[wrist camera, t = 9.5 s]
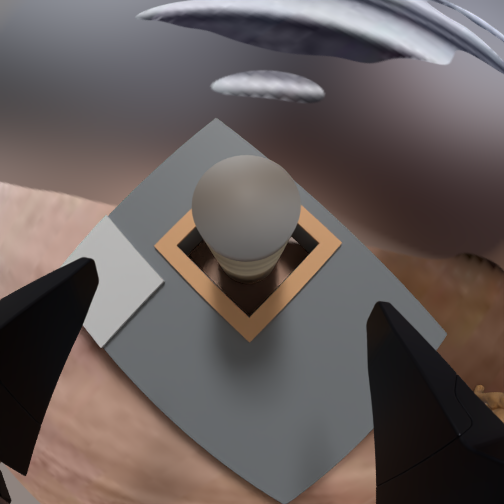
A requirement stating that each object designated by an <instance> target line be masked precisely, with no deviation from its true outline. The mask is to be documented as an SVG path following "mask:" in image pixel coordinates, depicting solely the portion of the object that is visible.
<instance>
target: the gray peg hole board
mask: <svg viewBox="0 0 504 504" xmlns="http://www.w3.org/2000/svg"><path fill="white" fill-rule="evenodd" d="M240 155H253V156H259V157H263V158H266V159H268V158H267V157H265V156H264V155H263V154H262V153H260V152H259V151H258V150H257V149H255V148H254V147H253V146H252V145H251V144H249V143H248V142H247V141H245V140H244V139H243V138H242V137H240V136H239V135H238V134H237V133H235V132H234V131H233V130H231V129H230V128H229V127H227V126H226V125H225V124H224V123H222V122H221V121H220V120H218V119H217V118H215V119H214V120H213V121H212V122H210V123H209V124H208V125H206V126H205V127H204V128H203V129H201V130H200V131H199V132H198V133H197V134H195V135H194V136H193V137H192V138H191V139H189V140H188V141H187V142H186V143H185V144H184V145H182V146H181V147H180V148H179V149H178V150H176V151H175V152H174V153H173V154H172V155H171V156H170V157H169V158H167V159H166V160H165V161H164V162H163V163H162V164H161V165H160V166H159V167H157V168H156V169H155V170H154V171H153V172H152V173H151V174H150V175H149V176H148V177H147V178H146V179H145V180H144V181H143V182H141V184H139V185H138V186H137V187H136V188H135V189H134V190H133V191H132V192H131V193H130V194H129V195H128V196H127V197H126V198H125V199H124V200H123V201H122V202H121V203H120V204H119V205H118V206H117V207H116V208H115V209H114V210H113V211H112V212H111V214H110V215H109V216H107V215H105V216H104V218H103V219H102V220H101V221H100V222H99V223H98V224H97V225H96V226H95V227H94V228H93V229H92V231H91V232H90V233H89V234H88V235H87V236H86V237H85V238H84V240H83V241H82V242H81V243H80V244H79V245H78V246H77V248H76V249H75V250H74V251H73V252H72V254H71V255H70V256H69V257H68V258H67V260H66V261H65V262H64V263H63V264H62V266H61V267H63V266H65V265H67V264H69V263H71V262H73V261H75V260H77V259H79V258H81V257H87V258H92V259H94V261H95V264H96V268H97V272H98V277H99V284H98V287H97V290H96V292H95V295H94V297H93V300H92V303H91V305H90V308H89V310H88V313H87V316H86V318H85V321H84V323H83V326H84V327H85V328H86V330H87V331H88V332H89V334H90V335H91V336H92V337H93V339H94V340H95V341H96V343H97V344H98V345H99V346H100V347H101V348H104V349H105V351H106V352H107V353H108V354H109V355H110V356H111V358H112V359H113V360H114V361H115V362H116V363H117V365H118V366H119V367H120V368H121V369H122V370H123V371H124V373H125V374H126V375H127V376H128V377H129V378H130V379H131V380H132V381H133V382H134V383H135V384H136V386H137V387H138V388H139V389H140V390H141V391H142V392H143V393H144V394H145V395H146V396H147V397H148V398H149V399H150V400H151V401H152V402H153V403H154V404H155V405H156V406H157V407H158V408H159V409H160V410H161V411H162V412H163V413H164V414H165V415H166V416H168V417H169V418H170V419H171V420H172V421H173V422H174V423H175V424H176V425H177V426H178V427H179V428H181V429H182V430H183V431H184V432H185V433H186V434H187V435H189V436H190V437H191V438H192V439H193V440H194V441H196V442H197V443H198V444H199V445H200V446H202V447H203V448H204V449H205V450H206V451H208V452H209V453H210V454H211V455H213V456H214V457H215V458H217V459H218V460H219V461H220V462H222V463H223V464H224V465H226V466H227V467H228V468H230V469H231V470H232V471H234V472H235V473H237V474H238V475H239V476H241V477H242V478H244V479H245V480H246V481H248V482H249V483H251V484H252V485H254V486H255V487H257V488H258V489H260V490H261V491H263V492H264V493H266V494H268V495H269V496H271V497H272V498H274V499H276V500H277V501H279V502H280V503H282V504H287V503H289V502H290V501H292V500H293V499H294V498H296V497H297V496H298V495H300V494H301V493H302V492H304V491H305V490H306V489H307V488H309V487H310V486H311V485H312V484H314V483H315V482H316V481H317V480H319V479H320V478H321V477H322V476H323V475H325V474H326V473H327V472H328V471H329V470H330V469H332V468H333V467H334V466H335V465H336V464H337V463H338V462H339V461H341V460H342V459H343V458H344V457H345V456H346V455H347V454H348V453H349V452H350V451H351V450H352V449H353V448H354V447H355V446H357V445H358V444H359V443H360V442H361V441H362V440H363V439H364V438H365V437H366V436H367V434H368V433H369V432H370V431H371V430H372V429H373V428H374V427H373V414H372V404H371V394H370V385H369V377H368V365H367V332H366V324H367V320H368V317H369V315H370V313H371V311H372V309H373V307H374V305H375V303H376V302H378V301H384V302H389V303H391V304H392V305H393V306H394V307H395V308H396V309H397V310H398V311H399V312H400V313H401V314H402V315H403V316H404V317H405V319H406V320H407V321H408V322H409V323H410V324H411V325H412V326H413V327H414V328H415V329H416V330H417V331H418V332H419V333H420V334H421V335H422V336H423V337H424V338H425V339H426V340H427V341H428V343H429V344H430V345H431V346H432V347H433V348H434V349H435V350H437V349H438V347H439V346H440V344H441V343H442V341H443V340H444V338H445V337H446V335H447V333H446V332H445V331H444V330H443V329H442V327H441V326H440V325H439V324H438V323H437V322H436V321H435V319H434V318H433V317H432V316H431V315H430V314H429V313H428V311H427V310H426V309H425V308H424V307H423V306H422V305H421V304H420V303H419V301H418V300H417V299H416V298H415V297H414V296H413V295H412V294H411V293H410V292H409V291H408V290H407V288H406V287H405V286H404V285H403V284H402V283H401V282H400V281H399V280H398V279H397V278H396V277H395V276H394V275H393V274H392V273H391V272H390V271H389V270H388V269H387V268H386V266H385V265H384V264H383V263H382V262H381V261H380V260H379V259H378V258H377V257H376V256H375V255H374V254H373V253H372V252H371V251H370V250H369V249H368V248H367V247H366V246H365V245H364V244H363V243H361V242H360V241H359V240H358V239H357V238H356V237H355V236H354V235H353V234H352V233H351V232H350V231H349V230H348V229H347V228H346V227H345V226H344V225H343V224H342V223H341V222H340V221H338V220H337V219H336V218H335V217H334V216H333V215H332V214H331V213H330V212H329V211H328V210H327V209H325V208H324V207H323V206H322V205H321V204H320V203H319V202H318V201H317V200H315V199H314V198H313V197H312V196H311V195H310V194H309V193H307V192H306V191H305V190H304V189H303V188H302V187H301V186H300V185H299V184H297V183H296V182H295V181H294V182H295V184H296V186H297V189H298V191H299V195H300V201H301V212H300V217H299V220H298V223H297V226H296V228H295V230H294V232H293V233H292V235H291V237H293V238H294V239H295V240H296V241H297V242H298V243H299V244H300V245H301V246H302V247H303V248H304V249H305V250H306V251H308V252H309V254H308V255H307V257H306V258H305V259H304V260H303V261H302V262H301V263H300V264H299V265H298V266H297V267H296V268H295V269H294V271H293V272H292V273H291V274H290V275H289V276H288V277H287V278H286V279H285V280H284V281H283V282H282V283H281V284H280V285H279V286H278V288H277V289H276V290H275V291H274V292H273V293H272V294H271V295H270V296H269V297H268V298H267V299H266V300H265V301H264V302H263V303H262V304H261V305H260V306H259V307H258V308H257V309H256V310H255V311H254V312H253V313H252V315H251V316H250V317H249V316H248V315H247V314H246V313H245V312H244V311H243V310H242V309H241V308H240V307H239V306H238V305H237V304H236V303H234V302H233V301H232V300H231V299H230V298H229V297H228V296H227V295H226V294H225V293H224V292H223V291H222V290H221V289H220V288H219V287H218V286H217V285H216V284H215V283H214V282H213V281H212V280H211V279H210V278H209V277H208V276H207V275H206V274H205V273H204V272H203V271H202V270H201V269H200V268H199V267H198V266H197V265H196V264H195V263H194V262H193V261H192V260H191V259H190V258H189V257H188V256H187V255H188V254H189V253H190V252H191V251H192V250H193V249H194V248H195V247H196V246H197V245H198V244H199V243H200V242H201V241H202V240H203V238H202V236H201V234H200V233H199V231H198V229H197V228H196V225H195V223H194V220H193V216H192V198H193V193H194V190H195V188H196V185H197V183H198V182H199V180H200V179H201V177H202V176H203V175H204V173H205V172H206V171H207V170H209V169H210V168H211V167H212V166H214V165H215V164H216V163H218V162H220V161H222V160H224V159H227V158H230V157H234V156H240ZM61 267H60V268H61Z"/></svg>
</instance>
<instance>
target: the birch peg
mask: <svg viewBox="0 0 504 504" xmlns="http://www.w3.org/2000/svg"><path fill="white" fill-rule="evenodd" d="M300 212H301V201H300V195H299V191H298V189H297V186H296V184H295V182H294V180H293V179H292V178H291V176H290V175H289V174H288V173H287V172H286V171H285V170H284V169H283V168H282V167H281V166H279V165H278V164H276V163H275V162H273V161H271V160H269V159H266V158H263V157H259V156H253V155H240V156H234V157H230V158H227V159H224V160H222V161H220V162H218V163H216V164H215V165H214V166H212V167H211V168H210V169H209V170H207V171H206V172H205V173H204V175H203V176H202V177H201V179H200V180H199V182H198V183H197V185H196V188H195V190H194V193H193V198H192V216H193V220H194V223H195V225H196V228H197V229H198V231H199V233H200V234H201V236H202V238H203V239H204V241H205V242H206V244H207V246H208V247H209V249H210V250H211V252H212V253H213V255H214V257H215V258H216V260H217V261H218V263H219V264H220V266H221V267H222V269H223V271H224V272H225V273H226V274H227V275H228V276H229V277H230V278H231V279H233V280H235V281H237V282H240V283H246V284H249V283H256V282H259V281H261V280H263V279H264V278H266V277H267V276H268V275H269V274H270V273H271V272H272V270H273V269H274V267H275V265H276V263H277V261H278V259H279V258H280V256H281V254H282V252H283V250H284V248H285V246H286V245H287V243H288V241H289V239H290V237H291V235H292V233H293V232H294V230H295V228H296V226H297V223H298V220H299V217H300Z"/></svg>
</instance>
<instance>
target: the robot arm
mask: <svg viewBox="0 0 504 504" xmlns="http://www.w3.org/2000/svg"><path fill="white" fill-rule="evenodd" d="M98 284H99V277H98V272H97V268H96V264H95V261H94V259H92V258H87V257H81V258H79V259H77V260H75V261H73V262H71V263H69V264H67V265H65V266H63V267H61V268H59V269H57V270H55V271H53V272H51V273H49V274H47V275H45V276H43V277H41V278H39V279H37V280H35V281H33V282H32V283H30V284H28V285H26V286H24V287H22V288H20V289H18V290H17V291H15V292H13V293H11V294H9V295H8V296H6V297H4V298H2V299H1V300H0V463H1V462H2V463H4V464H5V465H7V466H9V467H10V468H12V469H14V470H15V471H17V472H19V473H20V474H22V475H24V476H26V474H27V472H28V468H29V464H30V461H31V457H32V454H33V450H34V447H35V444H36V440H37V437H38V434H39V431H40V428H41V425H42V422H43V419H44V416H45V413H46V410H47V408H48V405H49V402H50V400H51V397H52V394H53V392H54V389H55V387H56V384H57V382H58V379H59V377H60V374H61V372H62V370H63V367H64V365H65V363H66V360H67V358H68V356H69V354H70V351H71V349H72V347H73V345H74V343H75V340H76V338H77V336H78V334H79V332H80V330H81V328H82V325H83V323H84V321H85V318H86V316H87V313H88V310H89V308H90V305H91V303H92V300H93V297H94V295H95V292H96V290H97V287H98ZM366 332H367V365H368V377H369V385H370V394H371V404H372V414H373V427H374V441H375V460H376V486H377V487H376V504H504V423H503V422H502V421H501V420H500V419H499V418H498V417H497V415H496V414H495V413H494V412H493V411H492V410H491V409H490V408H489V407H488V406H487V405H486V404H485V403H484V402H483V401H482V400H481V399H480V398H479V397H478V396H477V395H476V394H475V393H474V392H473V391H472V390H471V389H470V388H469V387H468V385H467V384H466V383H465V382H464V381H463V380H462V379H461V378H460V376H459V375H456V372H455V371H454V370H453V369H452V368H451V366H450V365H449V364H448V363H447V362H446V361H445V360H444V359H443V358H442V357H441V355H440V354H439V353H438V352H437V351H436V350H435V349H434V348H433V347H432V346H431V345H430V344H429V343H428V341H427V340H426V339H425V338H424V337H423V336H422V335H421V334H420V333H419V332H418V331H417V330H416V329H415V328H414V327H413V326H412V325H411V324H410V323H409V322H408V321H407V320H406V319H405V317H404V316H403V315H402V314H401V313H400V312H399V311H398V310H397V309H396V308H395V307H394V306H393V305H392V304H391V303H389V302H384V301H378V302H376V303H375V305H374V307H373V309H372V311H371V313H370V315H369V317H368V320H367V324H366ZM10 503H11V498H10V495H9V493H8V490H7V487H6V484H5V481H4V478H3V475H2V472H1V470H0V504H10Z"/></svg>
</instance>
